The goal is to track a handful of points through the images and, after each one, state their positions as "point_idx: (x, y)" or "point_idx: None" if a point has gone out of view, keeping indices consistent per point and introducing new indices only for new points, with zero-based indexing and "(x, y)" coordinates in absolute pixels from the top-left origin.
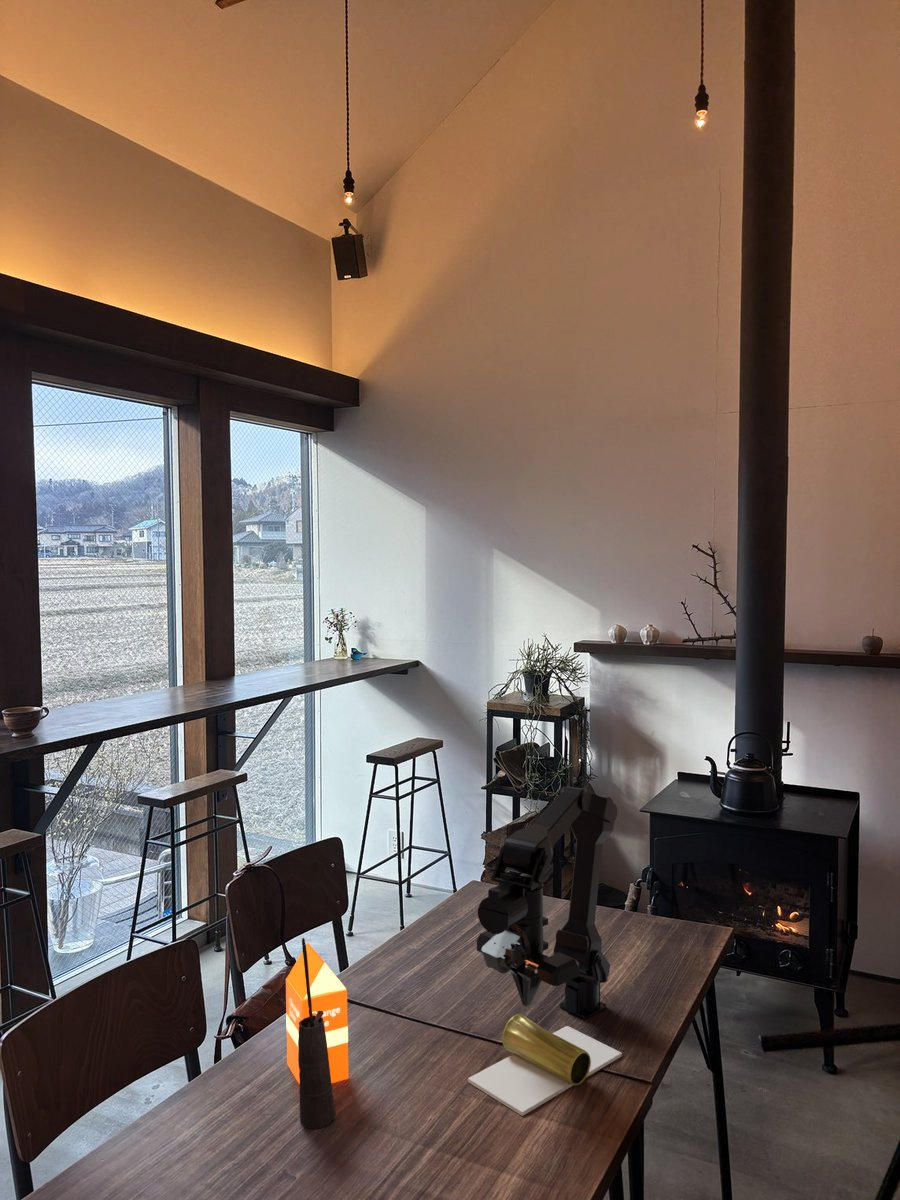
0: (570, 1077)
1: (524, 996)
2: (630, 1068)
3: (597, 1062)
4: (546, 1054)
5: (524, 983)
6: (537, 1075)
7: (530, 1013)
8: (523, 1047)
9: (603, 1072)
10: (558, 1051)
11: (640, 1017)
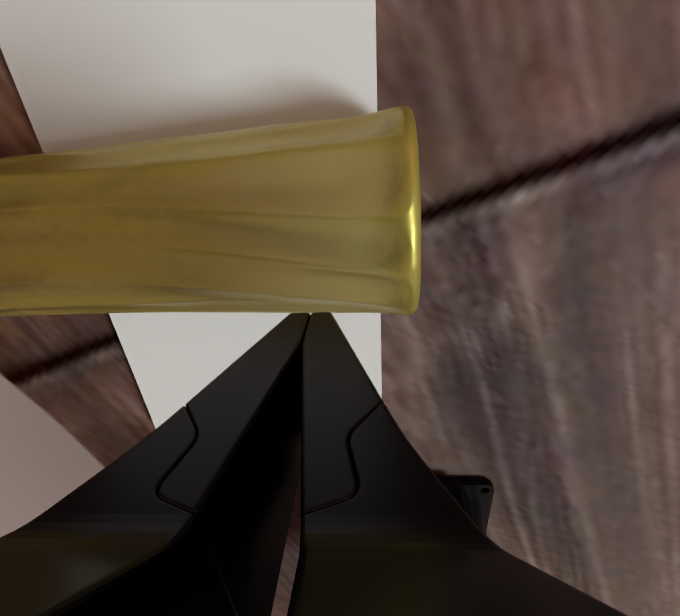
0: None
1: (273, 354)
2: (92, 396)
3: (142, 350)
4: (81, 165)
5: (180, 465)
6: (171, 114)
7: (546, 405)
8: (247, 134)
9: (106, 331)
10: (8, 206)
11: (291, 551)
